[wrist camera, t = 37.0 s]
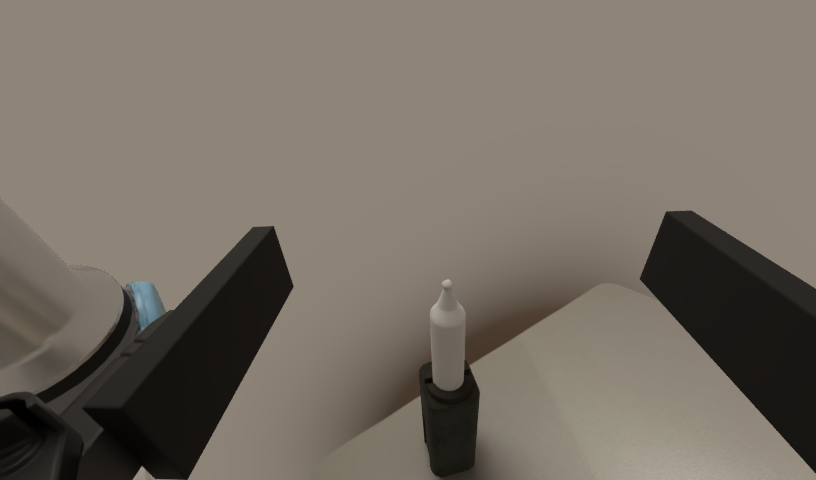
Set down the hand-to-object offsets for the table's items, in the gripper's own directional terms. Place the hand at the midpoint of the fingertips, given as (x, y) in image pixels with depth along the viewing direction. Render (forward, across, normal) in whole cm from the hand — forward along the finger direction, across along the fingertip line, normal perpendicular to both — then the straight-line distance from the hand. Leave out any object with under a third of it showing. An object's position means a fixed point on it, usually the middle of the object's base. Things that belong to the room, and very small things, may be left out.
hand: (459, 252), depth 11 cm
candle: (+10, 0, -34) cm, 36 cm away
